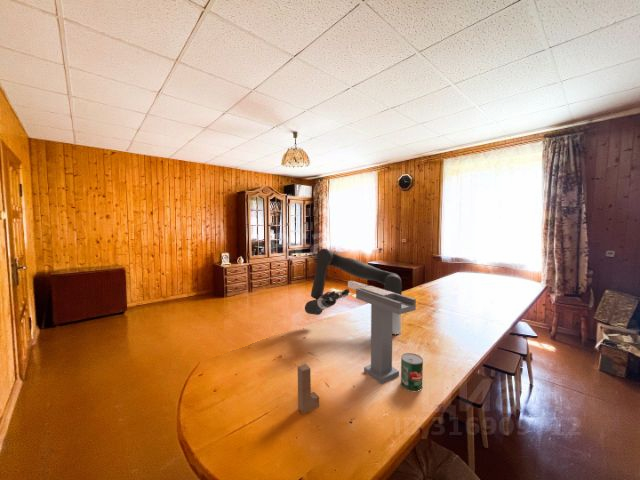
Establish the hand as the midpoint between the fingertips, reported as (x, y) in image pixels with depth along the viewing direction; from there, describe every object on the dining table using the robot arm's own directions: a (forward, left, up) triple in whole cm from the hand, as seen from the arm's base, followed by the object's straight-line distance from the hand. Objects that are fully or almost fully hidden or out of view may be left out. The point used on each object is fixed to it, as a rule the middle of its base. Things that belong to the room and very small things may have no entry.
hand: (341, 291), depth 131 cm
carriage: (+14, +14, +4) cm, 20 cm away
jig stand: (+20, +20, -28) cm, 40 cm away
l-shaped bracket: (+46, -4, -29) cm, 54 cm away
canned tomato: (+25, +31, -29) cm, 49 cm away
